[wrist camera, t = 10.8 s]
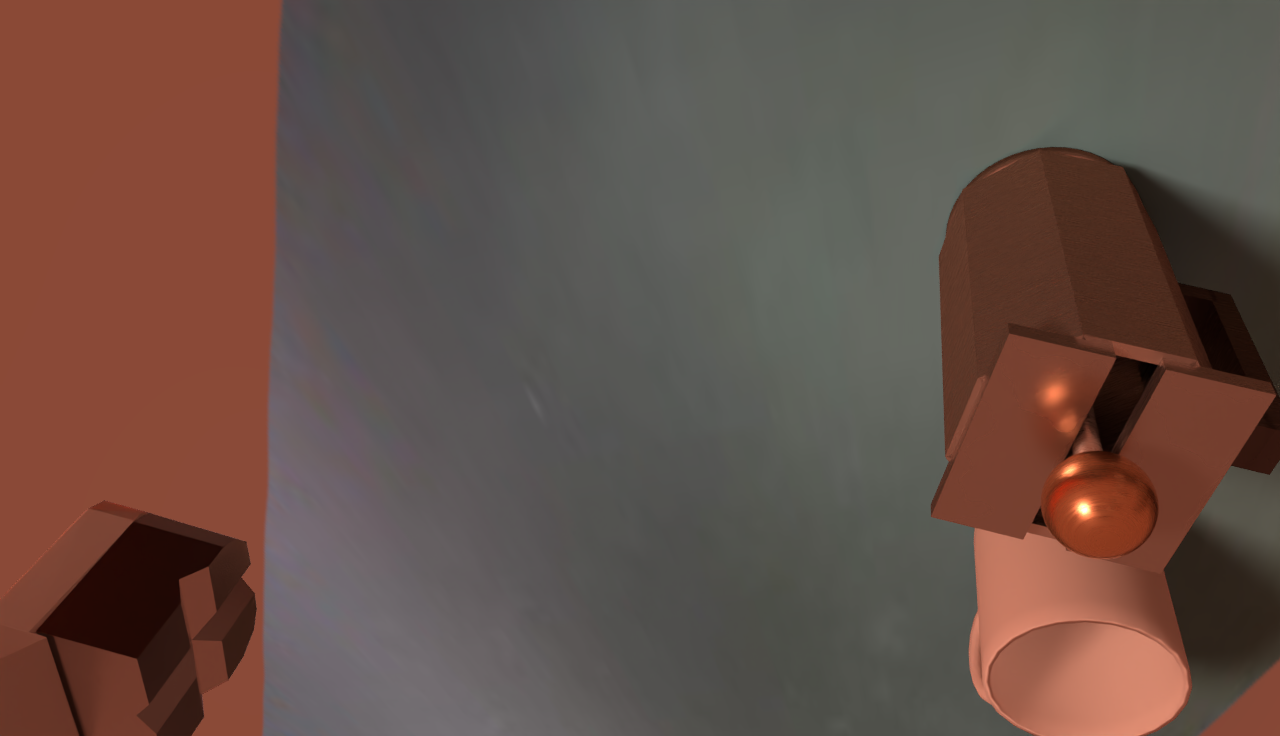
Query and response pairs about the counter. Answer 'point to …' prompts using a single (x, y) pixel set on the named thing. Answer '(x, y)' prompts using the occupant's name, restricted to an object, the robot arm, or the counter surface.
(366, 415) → the counter surface
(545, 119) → the counter surface
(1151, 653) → the mug
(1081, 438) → the copper ball on rod
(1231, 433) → the press carafe
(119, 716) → the robot arm
